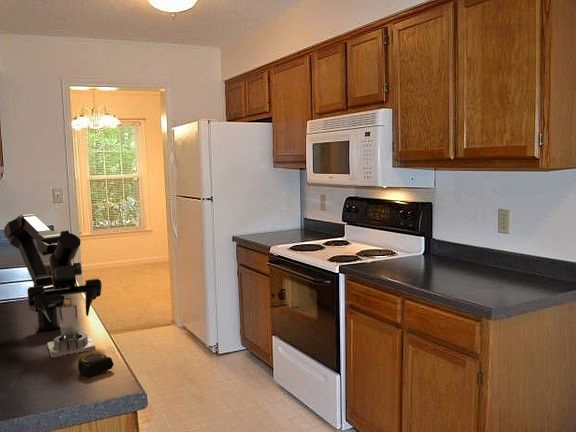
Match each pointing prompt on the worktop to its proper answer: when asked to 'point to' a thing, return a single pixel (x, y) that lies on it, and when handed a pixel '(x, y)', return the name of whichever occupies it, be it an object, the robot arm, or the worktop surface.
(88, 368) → the tape measure
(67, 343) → the socket flange
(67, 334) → the gold-capped glass bottle
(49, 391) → the worktop surface
